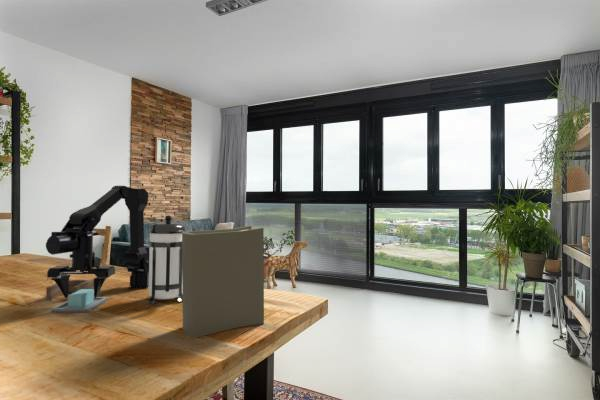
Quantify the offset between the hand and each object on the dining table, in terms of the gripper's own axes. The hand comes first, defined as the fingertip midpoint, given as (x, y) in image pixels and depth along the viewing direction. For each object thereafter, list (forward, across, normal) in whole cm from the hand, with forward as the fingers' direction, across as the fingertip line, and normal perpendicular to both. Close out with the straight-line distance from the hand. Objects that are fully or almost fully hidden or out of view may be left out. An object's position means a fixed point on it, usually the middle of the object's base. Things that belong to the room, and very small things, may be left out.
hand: (81, 297), depth 113 cm
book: (+3, -48, +20) cm, 52 cm away
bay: (+3, +10, -13) cm, 17 cm away
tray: (+3, 0, 0) cm, 3 cm away
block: (0, 0, -4) cm, 4 cm away
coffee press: (+3, -26, -6) cm, 27 cm away
